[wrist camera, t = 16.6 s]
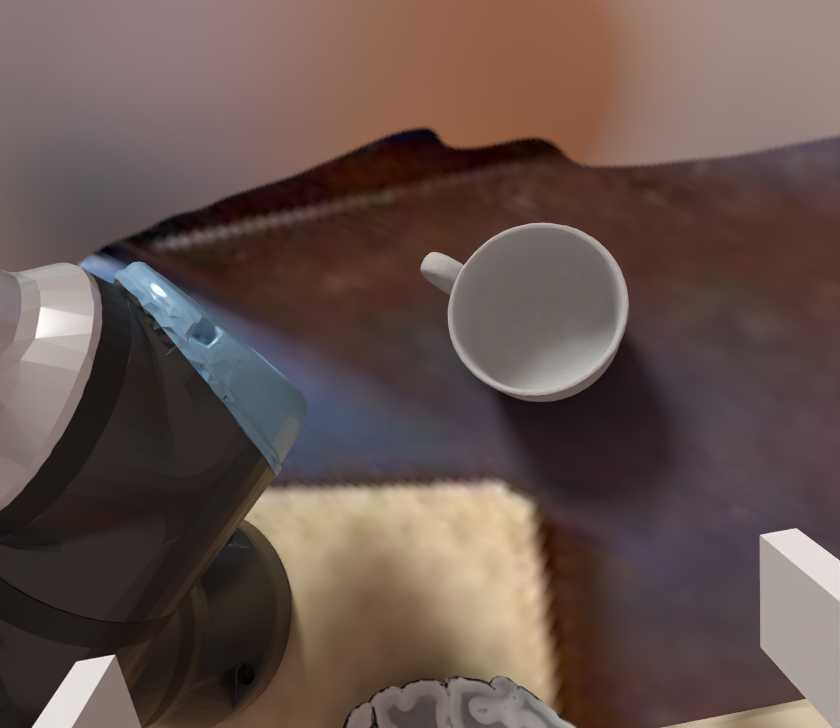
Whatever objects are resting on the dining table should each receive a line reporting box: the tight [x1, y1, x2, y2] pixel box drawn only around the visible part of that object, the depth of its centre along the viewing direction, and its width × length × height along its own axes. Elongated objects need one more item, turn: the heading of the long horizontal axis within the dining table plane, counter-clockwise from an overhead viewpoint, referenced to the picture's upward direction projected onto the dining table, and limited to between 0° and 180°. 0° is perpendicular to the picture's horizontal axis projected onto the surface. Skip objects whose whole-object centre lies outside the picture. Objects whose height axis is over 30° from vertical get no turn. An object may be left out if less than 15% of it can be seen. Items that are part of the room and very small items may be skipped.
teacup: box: [421, 223, 629, 402], centre depth 39 cm, size 14×11×8 cm
